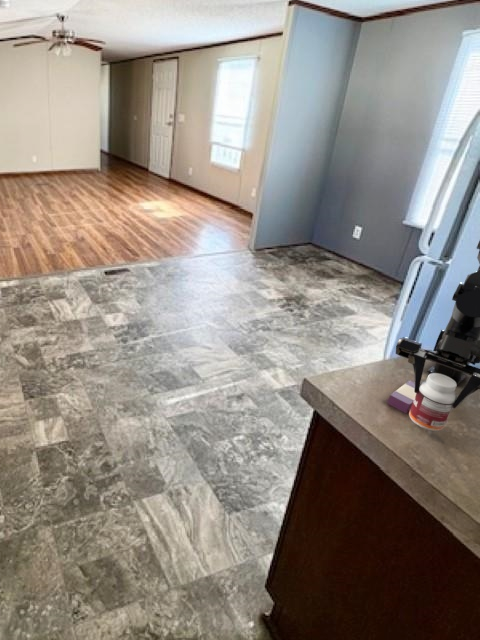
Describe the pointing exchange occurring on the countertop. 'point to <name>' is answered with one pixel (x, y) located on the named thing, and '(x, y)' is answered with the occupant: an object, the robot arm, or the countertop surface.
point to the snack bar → (403, 397)
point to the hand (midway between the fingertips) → (433, 399)
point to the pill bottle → (433, 402)
